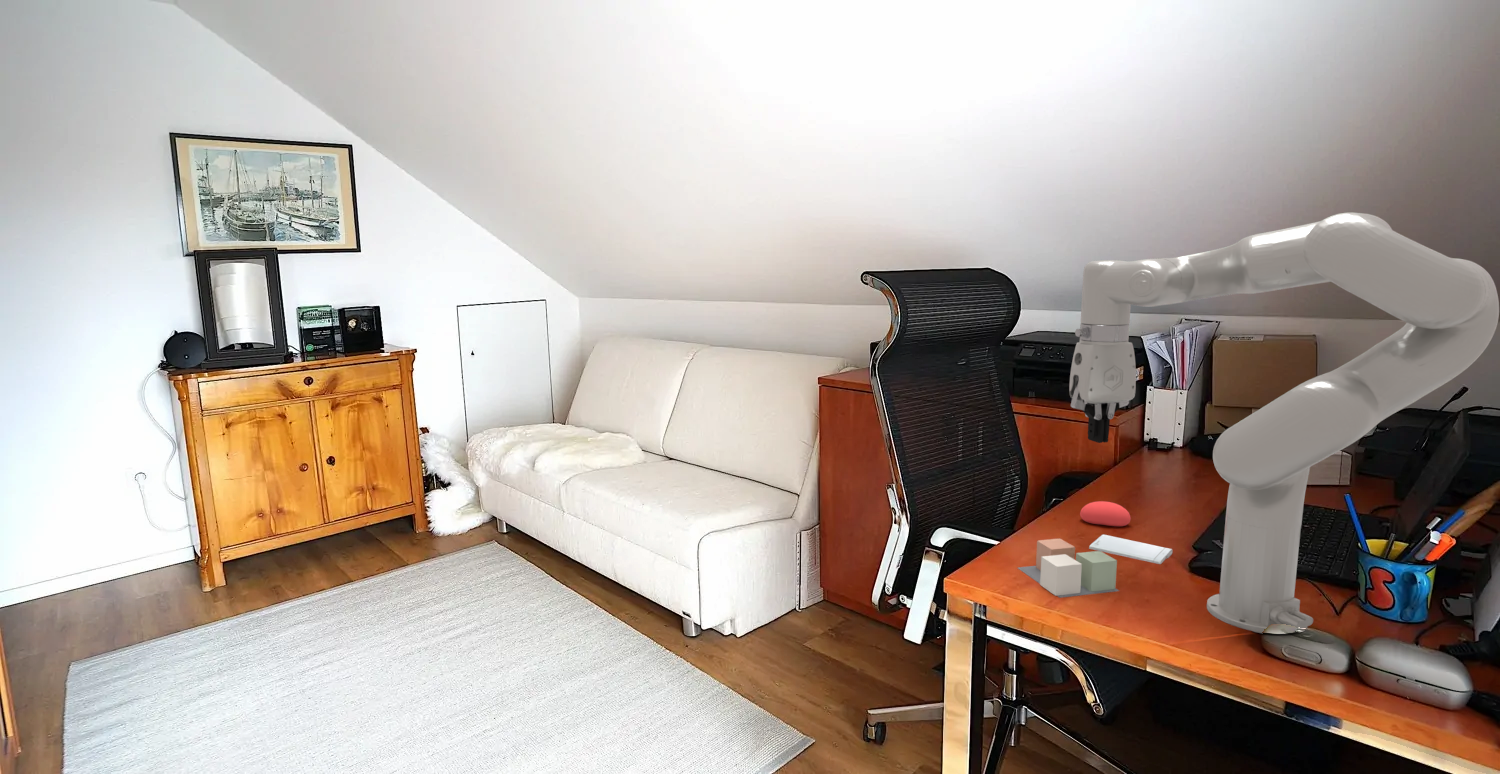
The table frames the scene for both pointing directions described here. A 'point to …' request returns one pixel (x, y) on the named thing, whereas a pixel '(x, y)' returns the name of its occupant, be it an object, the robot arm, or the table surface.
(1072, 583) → the block cream
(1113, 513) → the stress ball
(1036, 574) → the felt mat
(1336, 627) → the table surface
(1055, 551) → the block terracotta
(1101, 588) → the block sage
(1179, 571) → the table surface
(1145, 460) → the table surface
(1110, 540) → the hard drive
